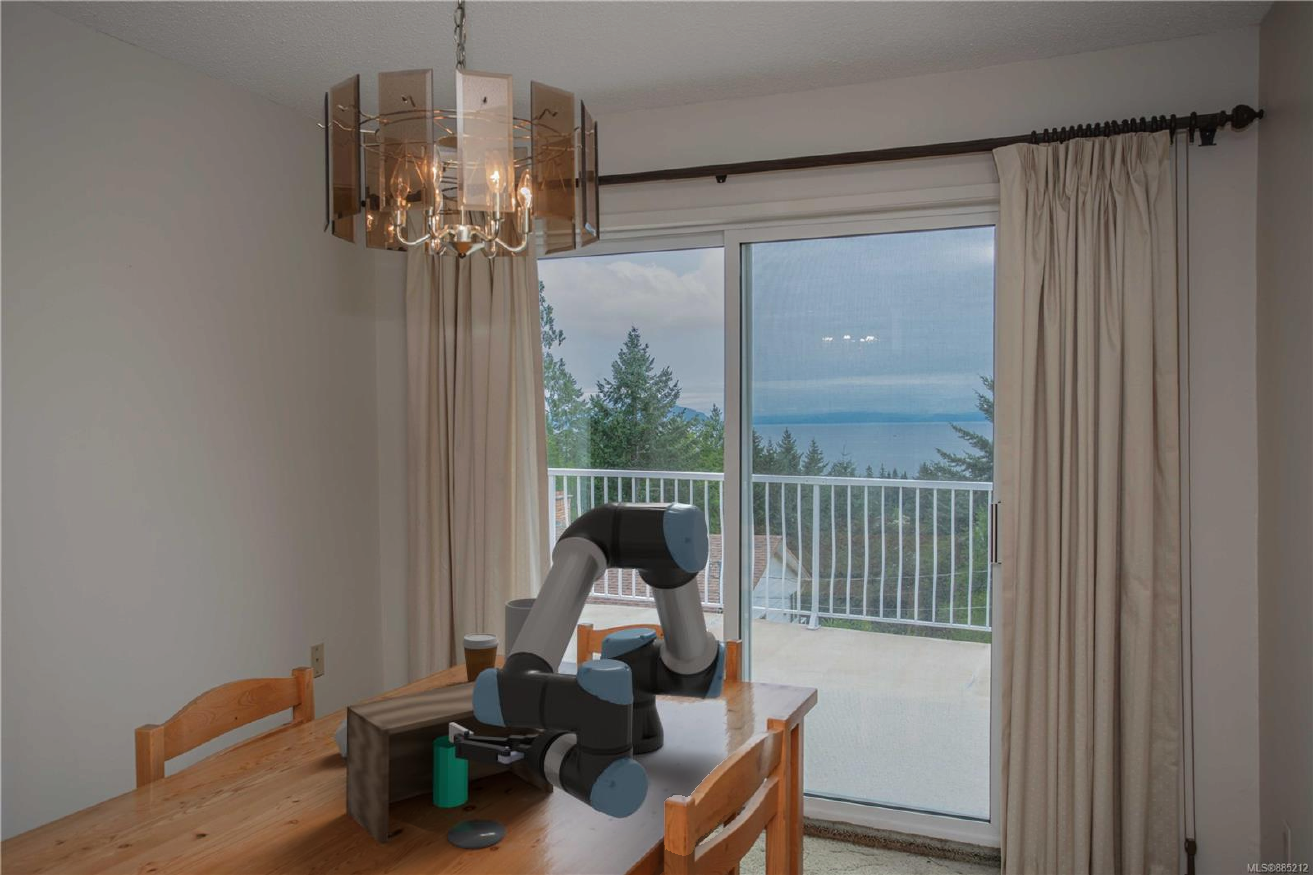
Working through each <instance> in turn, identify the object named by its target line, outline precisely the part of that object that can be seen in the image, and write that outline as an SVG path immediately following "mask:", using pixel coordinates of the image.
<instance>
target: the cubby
mask: <svg viewBox="0 0 1313 875" xmlns="http://www.w3.org/2000/svg"><path fill="white" fill-rule="evenodd" d="M474 684H475V682H470V683H468V682H467V683H466V682H464V683H460V684H455V685H451V686H446V687H442V688H441V687H440V688H435V689H430V690H425V691H420V692H415V693H410V694H406V695H399V696H395V697H390V698H384V699H379V700H373V701H369V702H364V703H358V704H354V705H349V706H347V707H346V716H347V758H346V770H345V771H346V772H345V773H346V782H345V785H346V786H345V788H346V790H345V793H346V794H345V797H346V798H345V808H346V809H345V813H346V814H347V815H348V816H349V817H350V818H352V819H353V820H354V821H355V822H356V823H357V824H358V825H360V826H361V827H362V828H363V829H364V830H365V831H366V832H367V833H369V834H370V836H372V838H374V839H375V840H376V841H377V842H379V843H380V844H381V845H386V844H389V804H391V803H394V802H398V801H403V800H406V799H409V798H413V797H416V796H420V795H425V794H427V793H433V741H434V740H435V739H437V738H439V737H442V736H447V735H449V723H452V722H454V723H456V724H458V725H460V726H462V727H463V728H465V729H467V730H469V731H471V732H473V733H474V736H484V737H498V738H509V737H510V736H511V735H518V736H526V735H534V734H540V733H541V731H539V730H537V729H534V728H521V727H502V726H497V725H491V724H486V723H482V722H480V721H479V720H478V719H477V718H476V717H475V715H474V710H473V707H472V694H473V688H474ZM516 747H517V742H516V741H514V752H515V751H516ZM507 771H509V772H511V773H513V774H514V775H517V777H519V778H521V779H523V780H524V781H526V782H528V783H530V784H532V785H533V786H535V787H536V788H539V789H540V790H542V791H544V792H546V793H547V794H551V793H554V786H553V785H551V784H549V783H547V782H545V781H543V780H541V779H540V778H538V777H536V776H535V775H534V774H533V772H532V771H531V769H530V768H529V766H528V764H526V763H524V762H519V761H512V762H511V767H510V768H508V769H504V768H501V767H499V766H497V765H492V764H486V763H481V762H475V761H470V760H468V782H471V781H475V780H478V779H482V778H485V777H489V776H493V775H495V774H500V773H504V772H507Z"/></svg>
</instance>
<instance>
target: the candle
mask: <svg viewBox="0 0 1313 875" xmlns="http://www.w3.org/2000/svg"><path fill="white" fill-rule="evenodd" d="M468 784H469V781H468V760H464V759H459V758H455V745H454V743H453V742H451V741H449V735H447V736H442V737H439V738H437V739H435V740H434V741H433V791H432V802H433V805H434V806H437V807H439V808H454V807H455V808H456V807H458V806H461V805H464V804H465V803H466V802H467V801H468V799H469V798H468V796H469V793H468V790H469V789H468V787H469V786H468Z"/></svg>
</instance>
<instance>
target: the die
mask: <svg viewBox="0 0 1313 875" xmlns="http://www.w3.org/2000/svg"><path fill="white" fill-rule="evenodd" d="M332 737H333V738H334V741H335V744H336V745H337V747H338V750H339V752H340V755H341V756H342V758H343V759H344V758H346V759H347V715H346V717H344V719H343V720H342V722H341V724H340V725H339V726H338V727H337V729H336V731H335V732H334V733H333V735H332Z"/></svg>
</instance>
